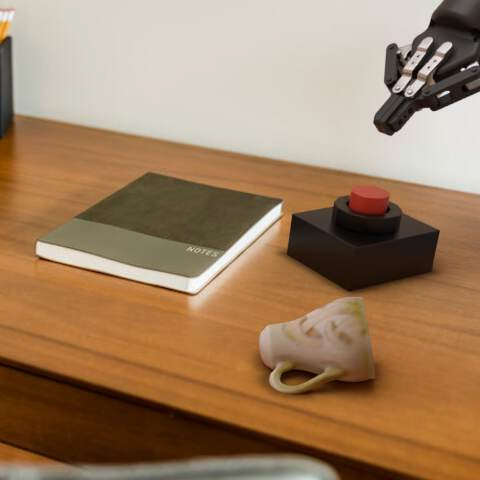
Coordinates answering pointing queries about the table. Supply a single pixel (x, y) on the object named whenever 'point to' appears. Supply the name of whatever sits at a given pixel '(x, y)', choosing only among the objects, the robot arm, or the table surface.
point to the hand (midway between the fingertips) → (381, 129)
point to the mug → (321, 346)
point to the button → (369, 199)
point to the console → (362, 244)
